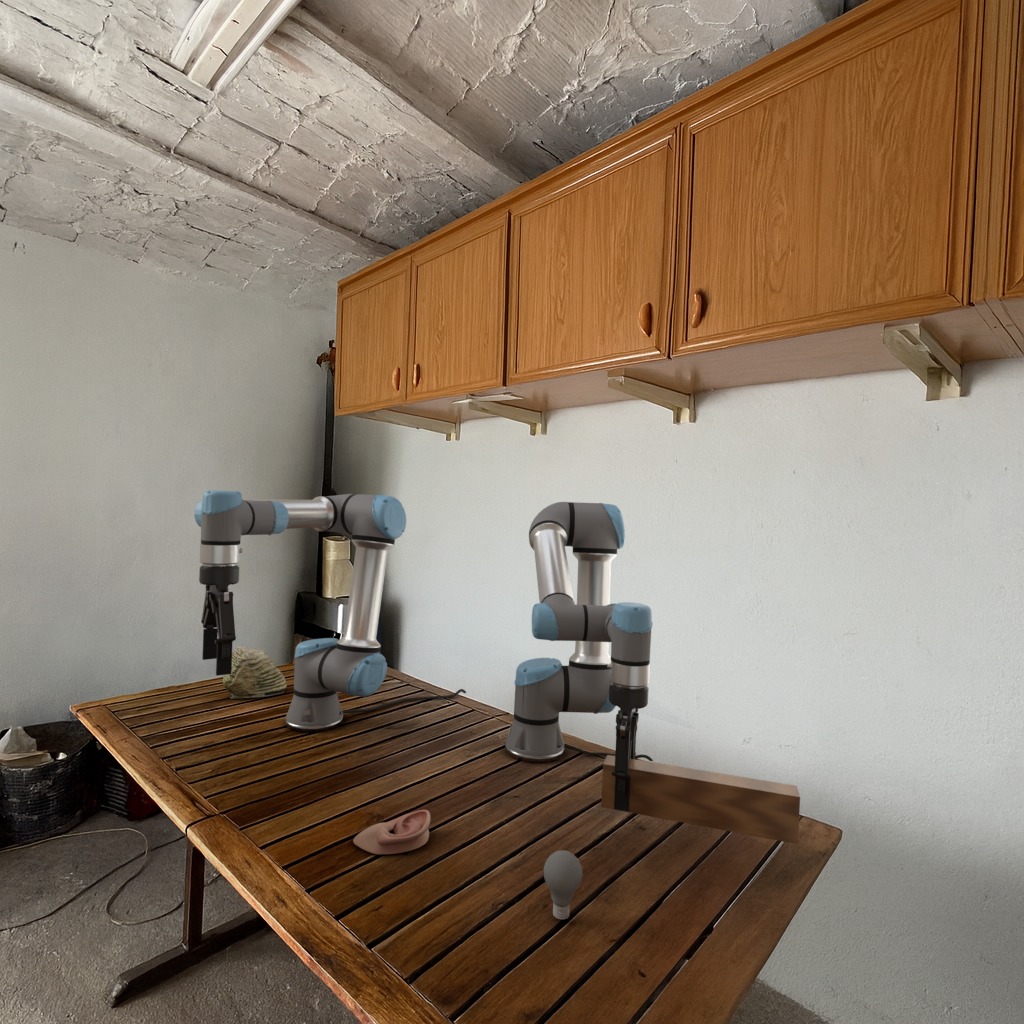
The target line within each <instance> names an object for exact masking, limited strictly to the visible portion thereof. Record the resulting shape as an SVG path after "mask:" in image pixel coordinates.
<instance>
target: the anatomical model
mask: <svg viewBox="0 0 1024 1024" xmlns="http://www.w3.org/2000/svg"><path fill="white" fill-rule="evenodd" d="M430 824H431V813H430V811H429V810H428V809H420V810H419V809H418V810H416V811H412V812H409V813H405V814H403V815H401V816H398V817H396V818H394V819H391V820H389V821H385V822H378V823H375V824H373V825H370V826H369V827H367V828H365V829H364V830H362V831H360V832H359V833H358V834H357V835H355V837H354V838H353V839H352V842H353V844H354V845H355V846H356V847H358V848H360V849H362V850H363V851H365V852H368V853H369V854H374V855H378V856H379V855H393V854H400V853H402V854H403V853H406V852H410V851H413V850H417V849H419V848H421V847H422V846H424V845H426V844H427V842H428V841H429V838H430V830H429V827H430Z"/></svg>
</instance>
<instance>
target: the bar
mask: <svg viewBox="0 0 1024 1024" xmlns="http://www.w3.org/2000/svg"><path fill="white" fill-rule="evenodd" d="M614 771H615V756H611V755H607V756H605V759H604V761H603V763H602V775H601V777H602V781H601V800H600V807H601V808H606V809H609V810H614V811H618V810H617V809H614V798H615V776H613V775H612V772H614ZM629 773H630V795H629V811H624V812H625V813H630V814H637V815H641V816H646V817H650V818H651V817H652V818H658V819H663V820H667V821H673V822H677V823H682V824H683V823H684V824H688V825H694V826H700V827H704V828H709V829H715V830H721V831H725V832H732V833H735V834H741V835H747V836H751V837H752V836H753V837H758V838H762V839H768V840H773V841H779V842H783V843H789V844H793V845H798V844H799V829H800V809H801V808H800V807H801V795H800V792H799V789H798V786H797V785H795V784H789V783H783V782H777V781H776V782H775V781H771V780H764V779H758V778H752V777H746V776H741V775H740V776H739V775H734V774H728V773H727V774H726V773H721V772H715V771H709V770H703V769H696V768H690V767H684V766H678V765H672V764H666V763H660V762H654V761H649V760H643V759H638V760H636V759H630V771H629ZM619 811H620V812H623V811H622V810H619Z"/></svg>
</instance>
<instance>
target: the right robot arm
mask: <svg viewBox="0 0 1024 1024" xmlns="http://www.w3.org/2000/svg"><path fill="white" fill-rule="evenodd" d="M625 539H626V529H625V521H624V516H623V514H622V512H621V509H620V508H619V507H618V506H617V505H616V504H610V503H603V502H574V501H573V502H571V501H558V502H554V503H552V504H549V505H548V506H546V507H544V508H543V509H542V510H540V511H539V512H538V514H537V515H536V516H534V518H533V520H532V522H531V524H530V526H529V530H528V542H529V545H530V548H531V549H532V550H533V552H534V561H535V571H536V580H537V581H536V582H537V590H538V600H539V602H538V603H535V604H533V606H532V611H531V612H532V613H531V635H532V636H533V638H535V639H536V640H543V641H550V642H559V641H560V642H575V647H574V653H573V654H571V656H570V657H569V658H568V665H563V663H562V661H561V660H560V659H558V658H555V657H553V658H551V657H536V658H531V659H527V660H524V661H522V662H521V663H519V664H518V666H517V667H516V670H515V677H514V678H515V679H514V704H513V706H514V707H513V719H512V723H511V725H510V726H509V729H508V731H507V732H508V733H507V736H506V738H505V744H504V745H505V748H504V749H505V753H506V754H507V755H509V756H510V757H511V758H513V759H516V760H519V761H524V762H526V763H527V762H528V763H550V762H554V761H557V760H559V759H561V758H562V757H564V755H565V749H568V750H571V751H575V752H578V753H581V754H584V755H588V756H597V757H598V756H601V757H603V756H605V757H607V755H611V756H615V771H614V772H612V775H613V776H615V798H614V809H617V810H616V811H620V810H622V811H621V812H625V811H629V795H630V773H629V771H630V759H636V760H639V759H643V758H644V759H647V761H648V762H654V759H653V758H652V757H650V755H647V754H637V752H636V750H637V749H636V747H637V733H638V732H637V731H638V722H639V718H640V713H639V710H640V709H644V708H646V707H647V706H648V704H649V687H648V685H649V684H650V676H651V675H650V674H651V673H650V672H651V663H650V661H651V645H652V644H651V643H652V628H653V616H652V608H651V607H650V606H649V605H647V604H643V603H641V602H629V601H628V602H626V601H625V602H623V601H622V602H617V603H611V574H612V573H611V572H612V561H613V560H614V559H616V557H617V556H618V550H620V549H622V548H624V546H625ZM566 547H572V555H573V556H574V557H575V558H576V559H577V584H576V585H577V586H576V603H575V597H574V591H573V586H572V579H571V574H570V570H569V569H570V568H569V562H568V557H567V552H566ZM609 643H610V646H609ZM609 647H610V654H609ZM616 707H617V708H618V710H617V713H616V715H615V723H616V725H615V753H610V752H591V751H586V750H582V749H581V748H579V747H575V746H572V745H569V744H565V741H564V737H563V733H562V729H561V727H560V722H559V718H560V713H581V714H582V713H583V714H585V713H586V714H594V715H597V714H609V713H612V712H613V711H614V710H615V708H616ZM614 809H613V810H614Z"/></svg>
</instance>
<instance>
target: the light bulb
mask: <svg viewBox="0 0 1024 1024" xmlns="http://www.w3.org/2000/svg"><path fill="white" fill-rule="evenodd" d="M543 877H544V878H543V879H544V881H545V884H546V885H547V887H548V889H549V892H550V896H551V898H550V899H551V900H552V915H553V917H554V918H555V919H558V920H566V919H569V917H570V910H571V909H570V908H571V904H572V901H573V898H574V894H575V893H576V891H577V890H578V889H579V887H580V885H581V883H582V880H583V866H582V864H581V862H580V860H579V859H578V857H577V856H575V854H573V853H572V852H570V851H568V850H564V849H561V850H556V851H555V852H553V853H552V854H550V855H549V856H548V857H547V859H546V861H545V862H544V865H543Z"/></svg>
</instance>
